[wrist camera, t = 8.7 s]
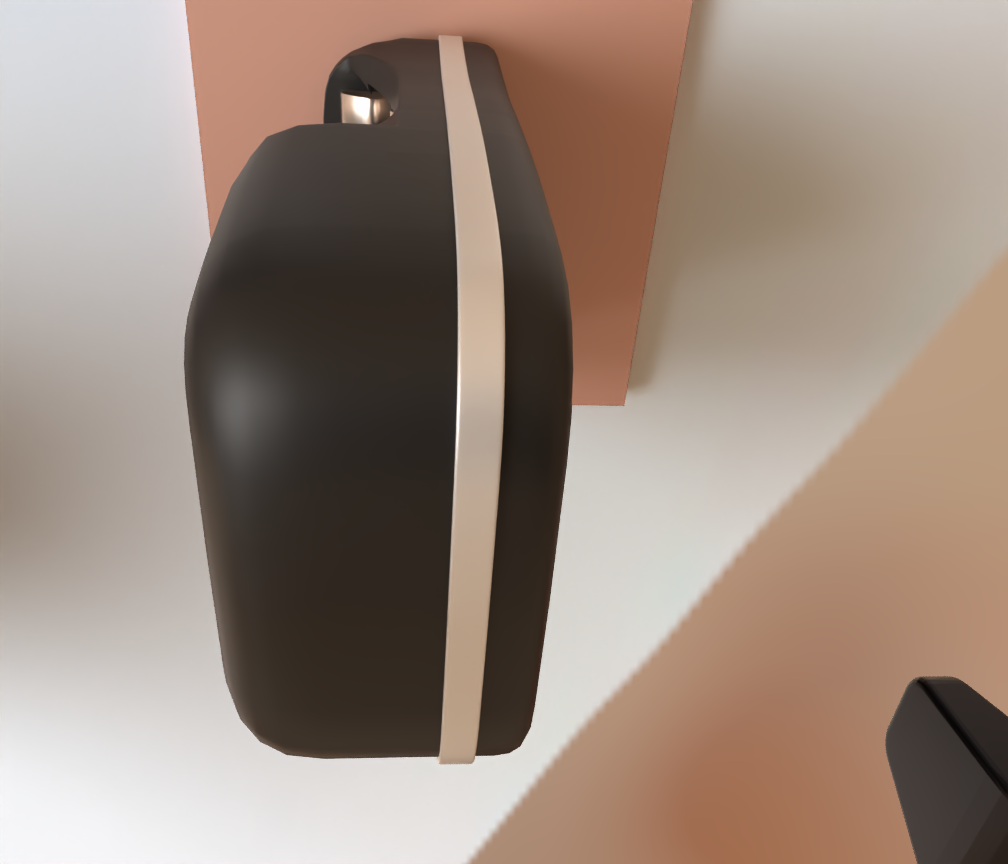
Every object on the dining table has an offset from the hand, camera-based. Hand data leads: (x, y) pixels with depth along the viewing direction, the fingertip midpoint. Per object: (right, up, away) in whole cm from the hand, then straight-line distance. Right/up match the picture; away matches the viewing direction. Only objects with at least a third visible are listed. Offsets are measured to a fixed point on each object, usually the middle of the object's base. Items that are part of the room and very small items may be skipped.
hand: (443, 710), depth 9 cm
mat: (-1, +7, +11) cm, 13 cm away
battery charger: (-2, +7, +10) cm, 13 cm away
